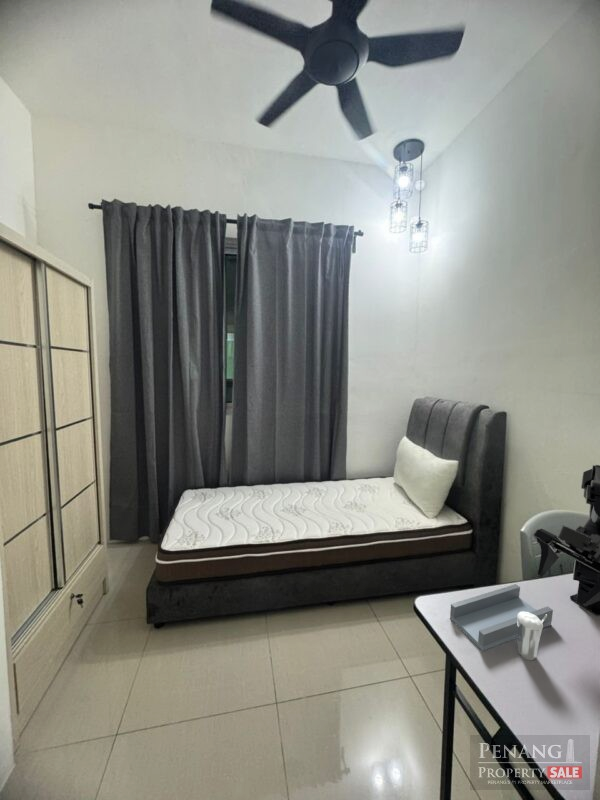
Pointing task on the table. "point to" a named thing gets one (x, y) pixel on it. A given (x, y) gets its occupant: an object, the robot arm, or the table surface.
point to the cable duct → (494, 616)
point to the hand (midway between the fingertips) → (560, 589)
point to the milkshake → (529, 634)
